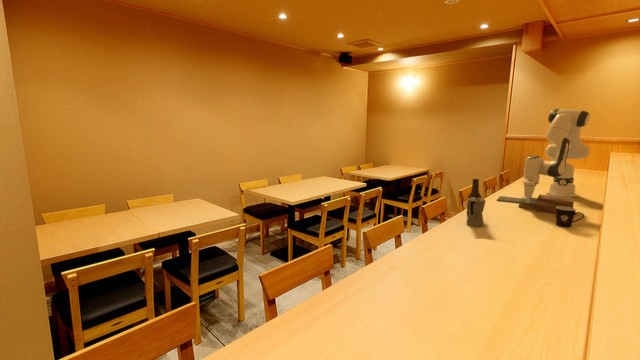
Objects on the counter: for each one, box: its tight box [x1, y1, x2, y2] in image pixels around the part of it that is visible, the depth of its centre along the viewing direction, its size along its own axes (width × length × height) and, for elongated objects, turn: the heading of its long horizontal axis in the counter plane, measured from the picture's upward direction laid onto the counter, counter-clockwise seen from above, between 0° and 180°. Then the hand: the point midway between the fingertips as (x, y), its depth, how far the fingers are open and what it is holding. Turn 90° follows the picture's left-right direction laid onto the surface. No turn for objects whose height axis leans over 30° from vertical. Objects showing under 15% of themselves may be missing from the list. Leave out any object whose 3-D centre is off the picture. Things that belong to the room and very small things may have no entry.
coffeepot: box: [466, 194, 486, 228], centre depth 175 cm, size 15×9×18 cm, turn 137°
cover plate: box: [521, 196, 538, 204], centre depth 201 cm, size 6×20×2 cm, turn 50°
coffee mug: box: [555, 206, 585, 229], centre depth 169 cm, size 12×9×10 cm
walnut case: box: [518, 194, 575, 215], centre depth 199 cm, size 12×28×9 cm, turn 50°
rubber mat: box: [496, 195, 522, 204], centre depth 221 cm, size 12×26×1 cm, turn 50°
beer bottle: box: [466, 178, 482, 218], centre depth 188 cm, size 8×8×24 cm
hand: (528, 200), depth 205 cm, fingers open, 8 cm apart
